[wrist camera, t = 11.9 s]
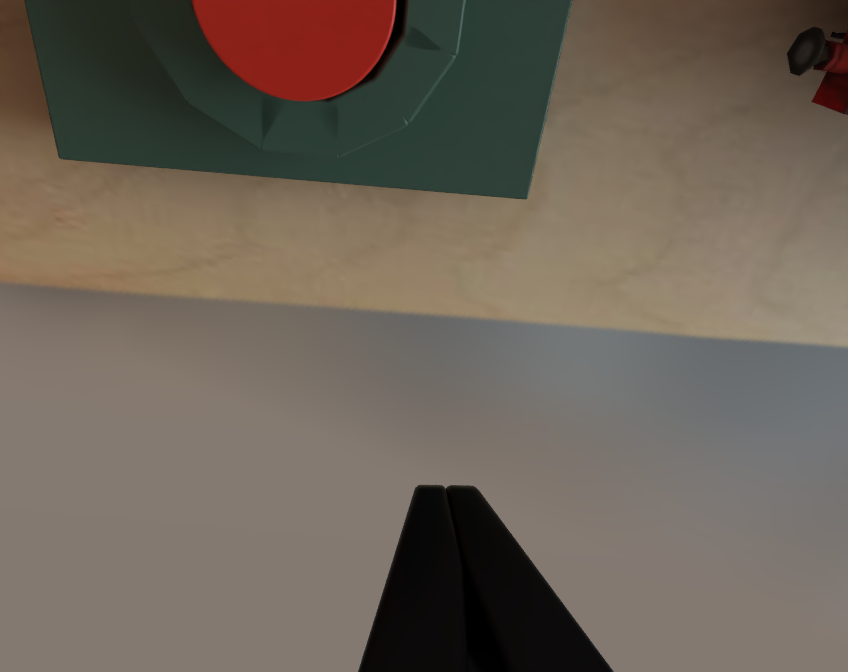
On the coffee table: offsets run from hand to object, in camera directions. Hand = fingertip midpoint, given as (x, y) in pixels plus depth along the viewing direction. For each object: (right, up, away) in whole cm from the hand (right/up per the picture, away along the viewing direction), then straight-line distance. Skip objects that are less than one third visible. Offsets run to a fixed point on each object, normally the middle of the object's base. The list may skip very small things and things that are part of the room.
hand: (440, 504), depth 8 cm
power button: (-3, +9, +4) cm, 10 cm away
